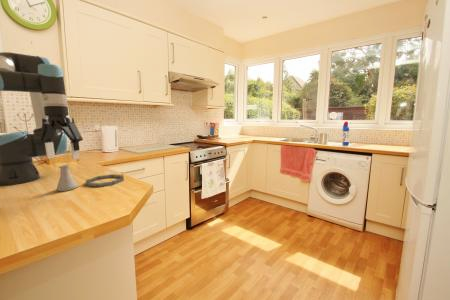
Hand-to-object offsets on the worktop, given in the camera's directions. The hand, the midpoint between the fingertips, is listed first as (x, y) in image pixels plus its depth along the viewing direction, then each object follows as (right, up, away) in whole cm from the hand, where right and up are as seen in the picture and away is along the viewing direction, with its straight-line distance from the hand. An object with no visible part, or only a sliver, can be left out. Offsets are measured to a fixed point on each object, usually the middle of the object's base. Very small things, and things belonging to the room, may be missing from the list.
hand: (63, 158), depth 87 cm
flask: (0, -13, +2) cm, 13 cm away
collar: (+11, -11, +12) cm, 20 cm away
